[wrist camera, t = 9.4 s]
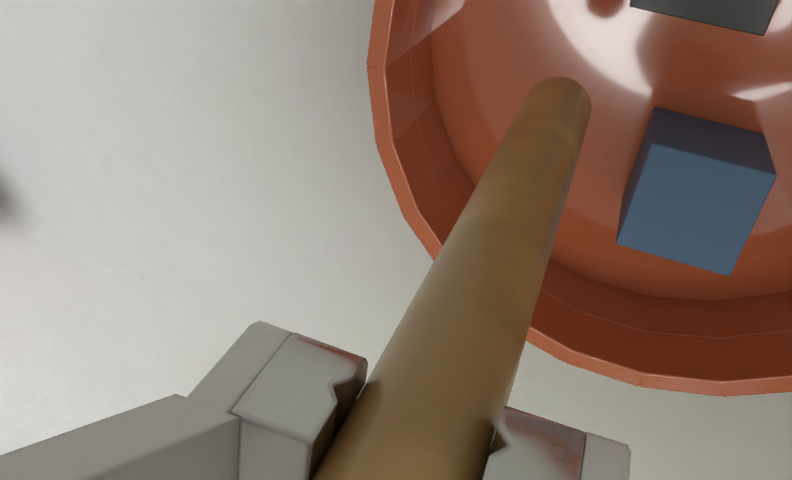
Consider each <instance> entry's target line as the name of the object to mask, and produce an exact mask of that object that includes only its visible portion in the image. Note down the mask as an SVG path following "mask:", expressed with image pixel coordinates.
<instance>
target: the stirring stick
mask: <svg viewBox="0 0 792 480" xmlns="http://www.w3.org/2000/svg"><path fill="white" fill-rule="evenodd" d="M591 109H592V108H591V100H590V97H589V95H588V93H587V91H586V90H585V89H584V88H583V87H582V85H580V84H579V83H578V82H576V81H574V80H572V79H570V78H567V77H550V78H547V79H544V80H542V81H540V82H539V83H537V84H536V85H535V86H534V87H533V88H532V89H531V91H530V92H529V94H528V96H527V98H526V99H525V101H524V103H523V105H522V107H521V108H520V110H519V112H518V114H517V115H516V117H515V119H514V121H513V122H512V124H511V126H510V128H509V130H508V131H507V133H506V135H505V137H504V138H503V140H502V142H501V144H500V146H499V147H498V149H497V151H496V153H495V154H494V156H493V158H492V160H491V162H490V163H489V165H488V167H487V169H486V170H485V172H484V174H483V176H482V178H481V179H480V181H479V183H478V185H477V186H476V188H475V190H474V192H473V194H472V195H471V197H470V199H469V201H468V202H467V204H466V206H465V208H464V209H463V211H462V213H461V215H460V217H459V218H458V220H457V222H456V224H455V225H454V227H453V229H452V231H451V233H450V234H449V236H448V238H447V240H446V241H445V243H444V245H443V247H442V249H441V250H440V252H439V254H438V256H437V257H436V259H435V261H434V263H433V265H432V266H431V268H430V270H429V272H428V273H427V275H426V277H425V279H424V281H423V282H422V284H421V286H420V288H419V289H418V291H417V293H416V295H415V296H414V298H413V300H412V302H411V304H410V305H409V307H408V309H407V311H406V312H405V314H404V316H403V318H402V320H401V321H400V323H399V325H398V327H397V328H396V330H395V332H394V334H393V336H392V337H391V339H390V341H389V343H388V344H387V346H386V348H385V350H384V352H383V353H382V355H381V357H380V359H379V360H378V362H377V364H376V366H375V368H374V369H373V371H372V373H371V375H370V376H369V378H368V380H367V382H366V383H365V385H364V387H363V389H362V391H361V392H360V394H359V396H358V398H357V399H356V401H355V403H354V405H353V407H352V408H351V410H350V412H349V414H348V416H347V417H346V419H345V421H344V423H343V424H342V426H341V428H340V430H339V431H338V433H337V435H336V437H335V439H334V440H333V442H332V444H331V446H330V448H329V449H328V451H327V453H326V455H325V456H324V458H323V460H322V462H321V463H320V465H319V467H318V469H317V470H316V472H315V474H314V476H313V478H312V479H311V480H482V477H483V474H484V471H485V465H486V462H487V459H488V456H489V452H490V449H491V446H492V443H493V439H494V436H495V433H496V430H497V426H498V423H499V420H500V417H501V414H502V411H503V407H504V405H505V406H507V403H508V399H509V396H510V392H511V389H512V385H513V382H514V378H515V375H516V372H517V368H518V365H519V361H520V358H521V354H522V351H523V347H524V344H525V340H526V337H527V334H528V330H529V327H530V323H531V320H532V316H533V313H534V309H535V306H536V302H537V299H538V296H539V292H540V289H541V285H542V282H543V278H544V275H545V271H546V268H547V265H548V261H549V258H550V254H551V251H552V247H553V244H554V240H555V237H556V233H557V230H558V227H559V223H560V220H561V216H562V213H563V209H564V206H565V202H566V199H567V195H568V192H569V189H570V185H571V182H572V178H573V175H574V171H575V168H576V164H577V161H578V158H579V154H580V151H581V147H582V144H583V140H584V137H585V133H586V130H587V126H588V123H589V120H590V116H591Z"/></svg>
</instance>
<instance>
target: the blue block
mask: <svg viewBox="0 0 792 480" xmlns="http://www.w3.org/2000/svg"><path fill="white" fill-rule="evenodd" d="M776 177H777V174H776V170H775V167H774V164H773V161H772V158H771V154H770V151H769V148H768V145H767V142H766V138H765V135H764V134H763V133H759V132H755V131H751V130H747V129H743V128H739V127H735V126H731V125H727V124H723V123H719V122H715V121H711V120H706V119H702V118H698V117H694V116H690V115H686V114H682V113H678V112H674V111H670V110H666V109H662V108H658V107H654V109H653V111H652V114H651V117H650V120H649V123H648V126H647V128H646V131H645V134H644V137H643V140H642V143H641V146H640V148H639V151H638V154H637V157H636V160H635V163H634V165H633V168H632V171H631V174H630V177H629V180H628V183H627V185H626V188H625V191H624V194H623V197H622V202H621V209H620V216H619V223H618V230H617V237H616V244H618V245H621V246H625V247H628V248H631V249H635V250H638V251H642V252H645V253H649V254H652V255H656V256H659V257H663V258H666V259H670V260H673V261H677V262H680V263H684V264H687V265H691V266H694V267H698V268H701V269H705V270H708V271H712V272H715V273H718V274H722V275H725V276H730V275H731V273H732V271H733V269H734V267H735V264H736V262H737V260H738V258H739V256H740V254H741V252H742V250H743V247H744V245H745V243H746V241H747V239H748V237H749V235H750V232H751V230H752V228H753V226H754V224H755V222H756V220H757V218H758V215H759V213H760V211H761V209H762V207H763V205H764V203H765V201H766V198H767V196H768V194H769V192H770V190H771V188H772V186H773V183H774V181H775V179H776Z"/></svg>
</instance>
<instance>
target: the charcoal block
mask: <svg viewBox="0 0 792 480" xmlns="http://www.w3.org/2000/svg"><path fill="white" fill-rule="evenodd" d="M778 1H779V0H630V4H629V6H630V7H633V8H638V9H642V10H647V11H651V12H656V13H660V14H665V15H669V16H674V17H678V18H683V19H687V20H692V21H696V22H701V23H705V24H710V25H714V26H719V27H724V28H728V29H733V30H737V31H742V32H746V33H751V34H755V35H760V36H764V35H765V33H766V30H767V28H768V25H769V23H770V20H771V18H772V16H773V13H774V11H775V8H776V6H777V4H778Z"/></svg>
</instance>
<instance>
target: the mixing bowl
mask: <svg viewBox="0 0 792 480" xmlns="http://www.w3.org/2000/svg"><path fill="white" fill-rule="evenodd" d="M629 4H630V0H375V4H374V12H373V19H372V27H371V35H370V42H369V50H368V58H367V73H368V82H369V90H370V98H371V107H372V115H373V123H374V132H375V140H376V144H377V149H378V152H379V154H380V157H381V160H382V162H383V165H384V167H385V170H386V173H387V175H388V178H389V181H390V183H391V186H392V188H393V191H394V194H395V196H396V199H397V201H398V204H399V207H400V209H401V212H402V214H403V216H404V218H405V220H406V221H407V223H408V224H409V225H410V227H411V228H412V230H413V231H414V233H415V234H416V236H417V237H418V238H419V240H420V241H421V243H422V244H423V246H424V247H425V249H426V250H427V251H428V253H429V254H430V256H431V257H432V259H433V260H434V261H435V259H436V257H437V256H438V254H439V252H440V250H441V249H442V247H443V245H444V243H445V241H446V240H447V238H448V236H449V234H450V233H451V231H452V229H453V227H454V225H455V224H456V222H457V220H458V218H459V217H460V215H461V213H462V211H463V209H464V208H465V206H466V204H467V202H468V201H469V199H470V197H471V195H472V194H473V192H474V190H475V188H476V186H477V185H478V183H479V181H480V179H481V178H482V176H483V174H484V172H485V170H486V169H487V167H488V165H489V163H490V162H491V160H492V158H493V156H494V154H495V153H496V151H497V149H498V147H499V146H500V144H501V142H502V140H503V138H504V137H505V135H506V133H507V131H508V130H509V128H510V126H511V124H512V122H513V121H514V119H515V117H516V115H517V114H518V112H519V110H520V108H521V107H522V105H523V103H524V101H525V99H526V98H527V96H528V94H529V92H530V91H531V89H532V88H533V87H534V86H535V85H536V84H537V83H539V82H540V81H542V80H544V79H547V78H550V77H567V78H570V79H572V80H574V81H576V82H578V83H579V84H580V85H582V87H583V88H584V89H585V90H586V91H587V93H588V95H589V97H590V100H591V108H592V109H591V116H590V120H589V123H588V126H587V130H586V133H585V137H584V140H583V144H582V147H581V151H580V154H579V158H578V161H577V164H576V168H575V171H574V175H573V178H572V182H571V185H570V189H569V192H568V195H567V199H566V202H565V206H564V209H563V213H562V216H561V220H560V223H559V227H558V230H557V233H556V237H555V240H554V244H553V247H552V251H551V254H550V258H549V261H548V265H547V268H546V271H545V275H544V278H543V282H542V285H541V289H540V292H539V296H538V299H537V302H536V306H535V309H534V313H533V316H532V320H531V323H530V327H529V330H528V334H527V337H526V341H528V342H529V343H531V344H533V345H535V346H536V347H538V348H540V349H542V350H543V351H545V352H547V353H549V354H550V355H552V356H554V357H556V358H557V359H559V360H561V361H563V362H564V361H565V363H567V364H570V365H573V366H577V367H580V368H583V369H586V370H589V371H592V372H595V373H598V374H601V375H604V376H607V377H610V378H614V379H617V380H620V381H623V382H626V383H629V384H632V385H635V386H639V385H640V387H645V388H653V389H662V390H670V391H679V392H687V393H696V394H704V395H713V396H723V397H727V396H740V395H754V394H767V393H780V392H792V0H779V1H778V4H777V6H776V8H775V11H774V13H773V16H772V18H771V20H770V23H769V25H768V28H767V30H766V33H765V35H764V36H760V35H755V34H751V33H746V32H742V31H737V30H733V29H728V28H724V27H719V26H714V25H710V24H705V23H701V22H696V21H692V20H687V19H683V18H678V17H674V16H669V15H665V14H660V13H656V12H651V11H647V10H642V9H638V8H633V7H630V6H629ZM654 107H658V108H662V109H666V110H670V111H674V112H678V113H682V114H686V115H690V116H694V117H698V118H702V119H706V120H711V121H715V122H719V123H723V124H727V125H731V126H735V127H739V128H743V129H747V130H751V131H755V132H759V133H763V134H764V135H765V138H766V142H767V145H768V148H769V151H770V154H771V158H772V161H773V164H774V167H775V170H776V174H777V177H776V179H775V181H774V183H773V186H772V188H771V190H770V192H769V194H768V196H767V198H766V201H765V203H764V205H763V207H762V209H761V211H760V213H759V215H758V218H757V220H756V222H755V224H754V226H753V228H752V230H751V232H750V235H749V237H748V239H747V241H746V243H745V245H744V247H743V250H742V252H741V254H740V256H739V258H738V260H737V262H736V264H735V267H734V269H733V271H732V273H731V275H730V276H725V275H722V274H718V273H715V272H712V271H708V270H705V269H701V268H698V267H694V266H691V265H687V264H684V263H680V262H677V261H673V260H670V259H666V258H663V257H659V256H656V255H652V254H649V253H645V252H642V251H638V250H635V249H631V248H628V247H625V246H621V245H618V244H616V237H617V230H618V223H619V216H620V209H621V202H622V197H623V194H624V191H625V188H626V185H627V183H628V180H629V177H630V174H631V171H632V168H633V165H634V163H635V160H636V157H637V154H638V151H639V148H640V146H641V143H642V140H643V137H644V134H645V131H646V128H647V126H648V123H649V120H650V117H651V114H652V111H653V109H654Z"/></svg>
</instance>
